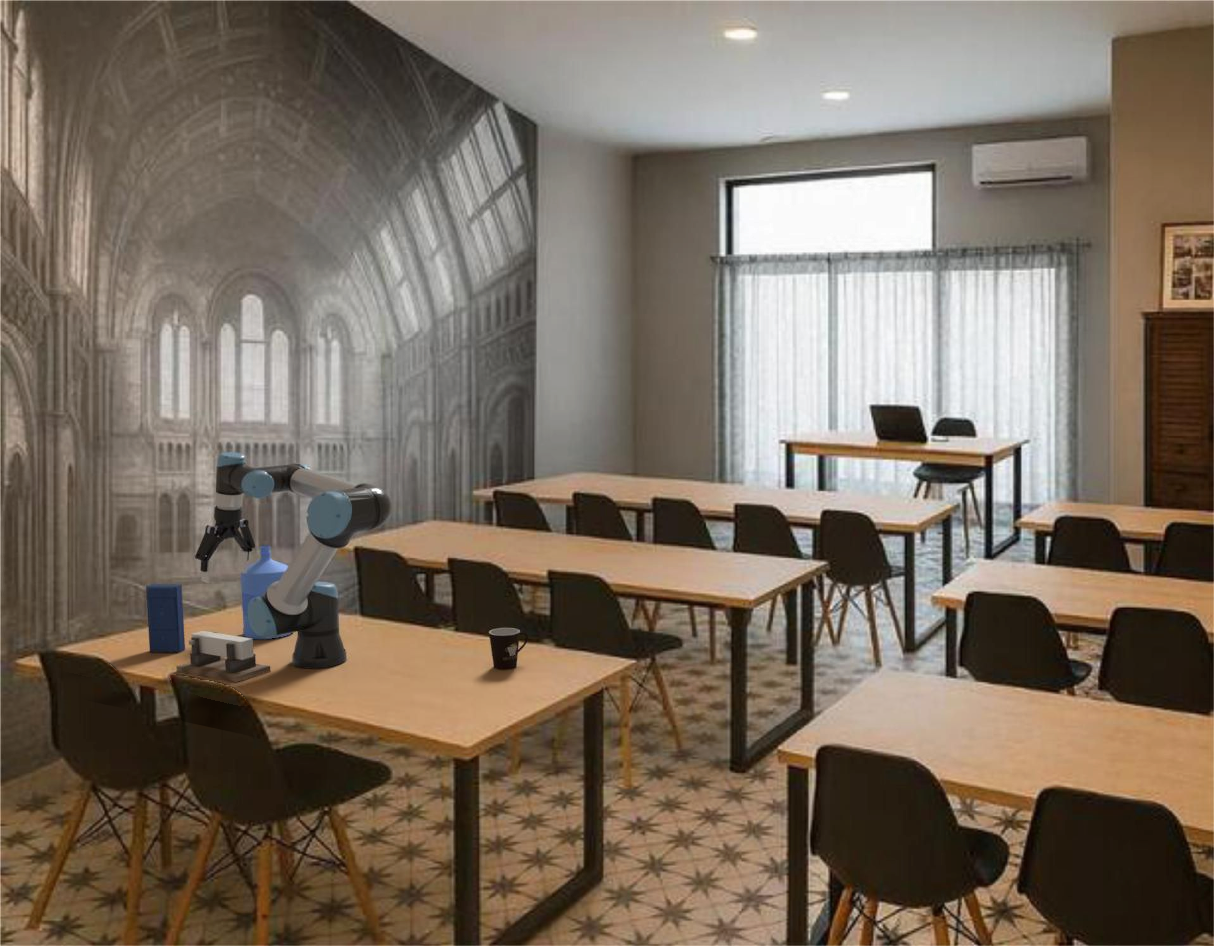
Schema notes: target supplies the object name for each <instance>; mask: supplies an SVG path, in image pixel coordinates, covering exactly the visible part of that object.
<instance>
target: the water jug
mask: <svg viewBox="0 0 1214 946" xmlns="http://www.w3.org/2000/svg"><path fill="white" fill-rule="evenodd" d="M259 549H260V552H259V555H260V559H259V560H257V561H256V562H254V563H252V564H250V565H247V572H246V573H245V574H244V573H241V572H240V585H241V609H242V623H243V625H242V626H243V628H242V634H243V637H244V636H245V638H253V640H273V639H272V637H271V638H261V637H259V636H258V635H257V634H256V633H255V632H254V631H253V629H252V627H251V625H250V622H249V619H248V605H249V602H250V601H251V600H252V599H253V598H255V597H257V596H258V597H261V596H263V595H264V594H265V592H266V591H267V589H268V587H269V586H270V585H271V584H272V583H274V582H277V581H280V579H281V577H282V576H283V574H284V573H285V571H286V569H287V568H288V566H289V565H287V564H284V563H282V562H279V561H278V560H277V561H276V560H273V559H272V556H271V553H272V551H271V546H270V545H263V546H260V547H259ZM287 635H288V636H290V635H292V634H291V633H289V634H285V635H281V636H277V637H275V639H280V638H279V637H281V638H285V637H287ZM284 636H285V637H284Z"/></svg>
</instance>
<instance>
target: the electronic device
mask: <svg viewBox="0 0 1214 946" xmlns="http://www.w3.org/2000/svg"><path fill="white" fill-rule="evenodd" d="M182 587H183V586H182V584H179V583H177V584H174V583H172V584H171V583H170V584H169V583H168V584H167V583H165V584H163V583H161V584H160V583H159V584H157V583H153V584H152V583H151V584H149V585H147V586H146V587H145V592H146V607H147V608H146V609H147V610H146V611H147V626H148V642H149V652H150V653H177V652H180V653H181V652H184V651H185V650H186V643H185V641H186V640H185V621H184V608H183V603H184V602H183V588H182Z"/></svg>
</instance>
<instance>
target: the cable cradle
mask: <svg viewBox="0 0 1214 946" xmlns="http://www.w3.org/2000/svg"><path fill="white" fill-rule="evenodd" d="M212 632H213V633H217V632H215V631H212ZM251 639H253V638H251ZM253 640H254V639H253ZM188 646H191V653H189V658H190V661H189V662H186V663H182V664H179V665H176V672H178V673H183V672H185V673H184V674H189V675H195V676H201V677H205V676H208V677H207V678H210V679H211V678H212V679H216V678H217V679H216V680H222V681H227V682H232V681H233V683H239V682H238V681H240V682H242V681H241V680H243V681H245V679H246V680H248V679H247V678H249V679H252V678H254V677H253V676H255V677H258V676H261V675H263V673H264V674H267V673H270V672H271V666H270V665H266V664H260V663H257V661H256V660H257V659H256V654H255V653H253V655H254V657H250V658H247V659H244V660H240V659H235V651H234V644H233V643H227V644H226V651H227V657H222V656H216V655H211V654H205V653H200V650H199V638H196V637H193V638H191V637H190V639H189V640H188ZM269 671H270V672H269ZM257 675H258V676H257ZM251 677H252V678H251Z"/></svg>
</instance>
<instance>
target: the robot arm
mask: <svg viewBox="0 0 1214 946" xmlns="http://www.w3.org/2000/svg"><path fill="white" fill-rule="evenodd" d="M216 463H217V464H216V471H215V472H216V473H215V474H216V476H215V477H216V478H215V494H214V495H215V497H214V505H215V507H214V512H213V518H214V520H215V523H214V525H212V526H211V525H210V524H209V525H208V524H207V525H206V526H205V531H204V535H203V537H202V539H201V541H200V544H199V546H198V548H197V550H196V554H195V555H194V558H195V559H196V560H199V561H200V572H201V582H204V583H206V584H211V576H212V575H211V574H212V560H210V559H211V558H212V556H213V555H214V553H215V552H216V550H217V548H219V545H220V544H221V543H222V542H224V540H227V539H231V538H233V539H234V540H235V542H236V543H237V544H238V546H239V547H240V548H241V549H240V550H238V551H239V552H238V564H237V566H238V567H237V572H239V573H240V574H241V573H244V574H245V573H246V572H247V567H248V562H249V557H250V556H249V555H250V553H251V552H253V549H255V547H256V544H255V541H254V539H253V535H252V532H251V530H250V526H249V520H248V519H245V518H243V508H242V506H243V504H244V502H243V501H244V500H243V499H244V494H245V495H246V496H248V497H251V498H255V499H266V498H267V497H269V496H270V495H271V494H273V493H282V492H290V493H294V494H297V495H300V496H303V497H305V498H309V499H311V501H310V502H309V504H308V506H307V509H306V513H307V516H306V517H305V518H306V525H307V527H308V528H307V529H308V534H307V536H306V537H305V539H304V540H303V542H302V544H301V545H300V547H299V548H298V550H297V551H296V553H295V555H294V556H293V558H292V560H291V562H290V563H289V565H287V566H288V568H287V569H286V571H285V573H284V574H283V576H282V577H281V579H280V581H277V582H274V583H272V584H271V585H270V586H269V587H268V589H267V591H266V592H265V594H264V595H263V596H261V597H258V596H257V597H255V598H253V599H252V600H251V601H250V602H249V605H248V619H249V622H250V625H251V627H252V629H253V631H254V632H255V633H256V634H257V635H258V636H259V637H261V638H271V637H272V638H275V637H277V636H281V635H285V634H289V633H292V634H293V633H296V632H297V639H296V641H295V646H294V652H293V653H292V656H291V657H292V659H291V661H292V665H293V666H295V667H297V668H302V669H320V668H321V669H322V668H329V667H334V666H337V665H341V664H343V663H345V662H347V659H348V658H347V651H346V649H345V648H344V644H343V641H342V637H341V634H340V620H339V594H338V587H337V585H336V584H335V583H332V582H326V581H319V579H320V578H321V576H322V574H323V573H324V571H325V570H326V568H327V567H328V565H329V563H330V562H331V560H332V559H333V557H334V556H335V554H336V552H337V551H338V550H339V549H343V548H345V547H348V546H347V545H349V544H350V542H351V540H352V539H353V538H354V536H355V535H356V534H358V533H363V532H367V531H369V532H370V531H373V530H376V529H378V528H380V527H382V526H384V525H385V523H386V522H387V521H388V519H389V517H390V515H391V513H392V502H391V499H390V497H389V496H390V495H388V493H387V492H386V491H385V490H384V489H382V488H381V487H379V486H376V485H373V484H369V483H365V482H361V483H358V484H357V483H354V482H350V481H347V480H344V479H339V478H336V477H332V476H330V475H327V474H323V473H320V472H317V471H314V470H312V469H311V468H310V467H309V466H308V465H307V464H306V463H296V462H295V463H289V464H281V465H273V466H272V465H271V466H261V467H251V466H249V465H247V464H246V457H245V454H243V453H241V452H234V451H228V452H221V453H219V454H218V456H217V462H216ZM239 529H240V530H239ZM275 639H276V638H275Z"/></svg>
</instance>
